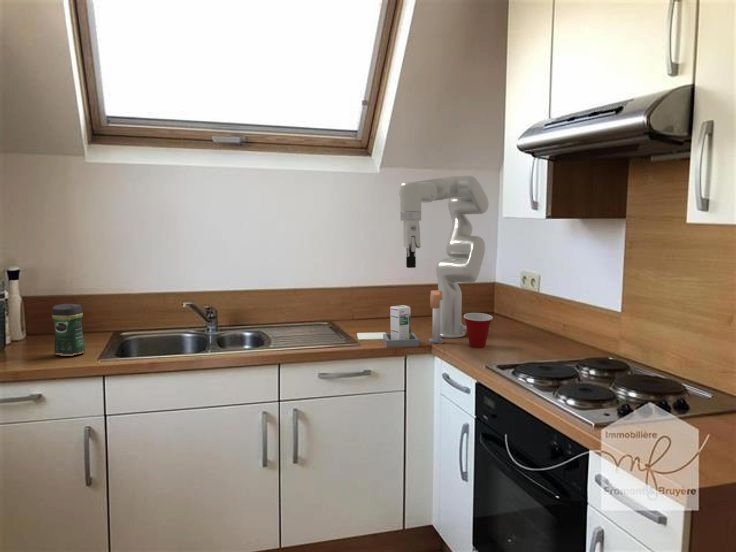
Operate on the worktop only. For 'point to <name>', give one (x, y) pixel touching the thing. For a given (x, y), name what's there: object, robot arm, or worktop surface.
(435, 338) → the socket
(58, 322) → the coffee jar
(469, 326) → the plastic cup
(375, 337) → the mat
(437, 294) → the orange bar
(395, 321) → the syrup box
